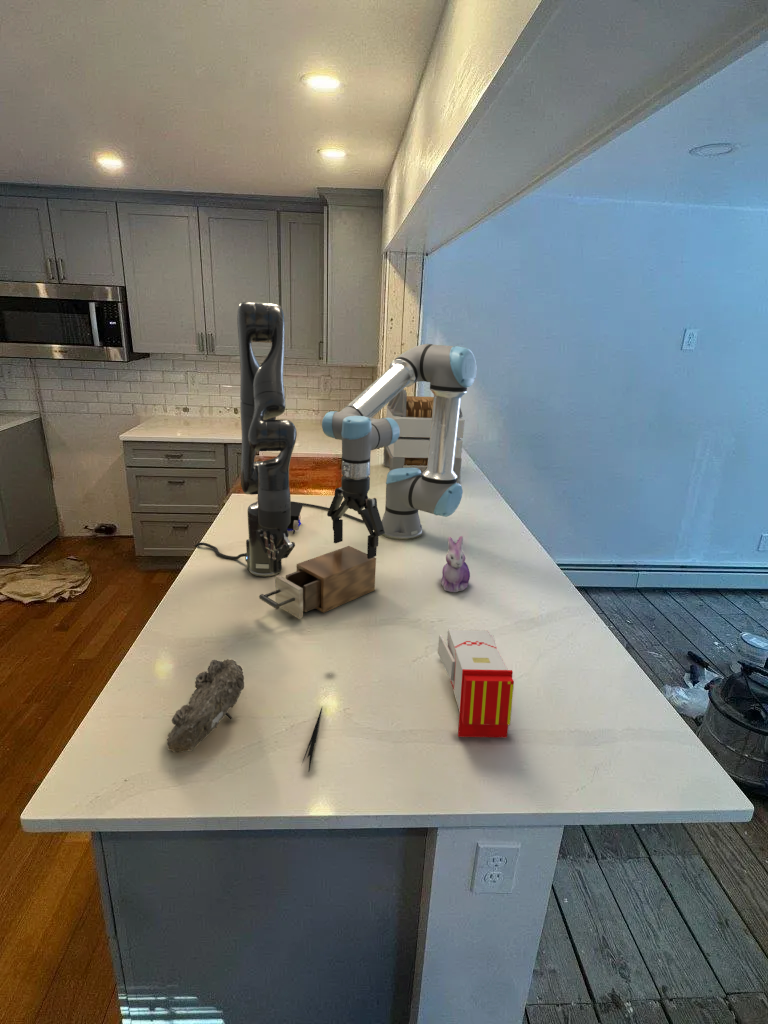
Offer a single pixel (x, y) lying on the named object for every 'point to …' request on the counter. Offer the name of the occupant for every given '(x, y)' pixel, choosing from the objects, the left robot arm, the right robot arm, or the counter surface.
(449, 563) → the figurine
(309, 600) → the drawer
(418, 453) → the white slatted crate
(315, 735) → the feather
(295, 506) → the black toy vehicle
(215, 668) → the fossil
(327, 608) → the cabinet
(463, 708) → the toy
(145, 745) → the counter surface
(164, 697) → the counter surface
